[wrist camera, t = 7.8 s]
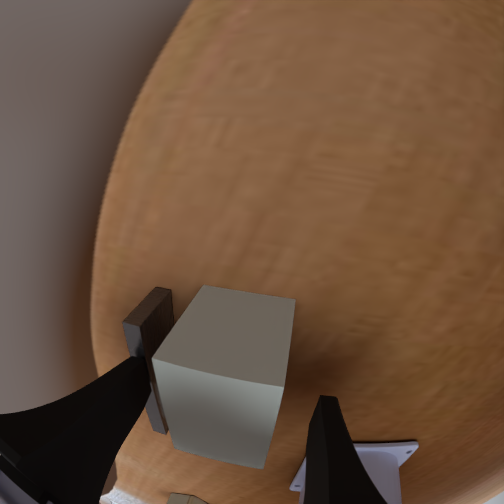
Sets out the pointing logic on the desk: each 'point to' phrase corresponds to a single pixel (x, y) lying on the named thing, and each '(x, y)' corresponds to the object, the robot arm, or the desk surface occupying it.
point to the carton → (225, 374)
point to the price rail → (151, 344)
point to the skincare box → (184, 499)
